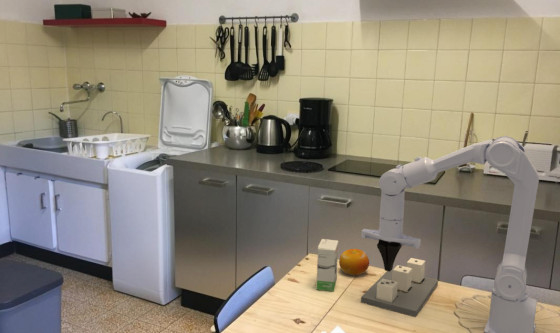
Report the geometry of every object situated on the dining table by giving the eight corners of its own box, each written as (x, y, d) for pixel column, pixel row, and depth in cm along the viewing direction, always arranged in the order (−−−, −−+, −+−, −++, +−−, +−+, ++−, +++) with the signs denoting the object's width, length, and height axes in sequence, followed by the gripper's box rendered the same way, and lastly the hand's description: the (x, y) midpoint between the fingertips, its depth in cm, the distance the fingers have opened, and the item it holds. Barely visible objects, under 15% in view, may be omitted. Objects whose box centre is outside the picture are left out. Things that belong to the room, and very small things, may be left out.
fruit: (329, 260, 139) (346, 240, 137) (343, 263, 146) (359, 243, 144) (347, 281, 134) (365, 260, 132) (361, 283, 140) (378, 263, 139)
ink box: (334, 292, 126) (335, 249, 124) (315, 290, 127) (317, 248, 125) (337, 279, 134) (338, 239, 132) (319, 277, 135) (321, 238, 133)
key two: (411, 286, 127) (412, 267, 126) (406, 291, 123) (407, 272, 122) (396, 282, 129) (397, 264, 128) (391, 287, 125) (392, 269, 124)
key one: (424, 277, 132) (425, 260, 131) (420, 282, 129) (421, 264, 128) (409, 274, 134) (411, 257, 133) (405, 279, 131) (406, 261, 130)
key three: (396, 300, 121) (397, 281, 120) (391, 306, 118) (392, 287, 117) (381, 296, 123) (382, 277, 122) (376, 302, 120) (377, 283, 119)
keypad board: (437, 284, 132) (438, 279, 132) (415, 317, 113) (416, 311, 113) (388, 273, 139) (389, 268, 139) (360, 302, 120) (361, 296, 120)
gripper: (425, 218, 116) (421, 270, 119) (369, 209, 124) (366, 259, 126) (417, 225, 110) (413, 280, 113) (359, 215, 118) (356, 267, 120)
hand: (388, 269), depth 119 cm, fingers closed
